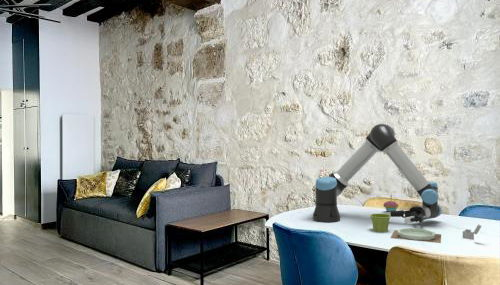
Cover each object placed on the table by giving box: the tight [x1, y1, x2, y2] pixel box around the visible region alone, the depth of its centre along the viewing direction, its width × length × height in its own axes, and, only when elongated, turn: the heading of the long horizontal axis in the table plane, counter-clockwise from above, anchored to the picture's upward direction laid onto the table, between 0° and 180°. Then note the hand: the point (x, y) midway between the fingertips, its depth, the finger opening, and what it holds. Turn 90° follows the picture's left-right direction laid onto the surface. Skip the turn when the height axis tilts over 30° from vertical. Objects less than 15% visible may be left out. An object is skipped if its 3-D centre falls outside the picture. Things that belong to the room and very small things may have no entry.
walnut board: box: [390, 229, 442, 244], centre depth 172 cm, size 20×16×2 cm
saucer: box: [397, 227, 436, 242], centre depth 172 cm, size 15×15×2 cm
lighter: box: [462, 224, 483, 240], centre depth 167 cm, size 7×2×8 cm, turn 50°
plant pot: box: [369, 213, 392, 233], centre depth 184 cm, size 9×9×9 cm
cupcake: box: [383, 194, 399, 212], centre depth 234 cm, size 9×8×12 cm
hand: (393, 218), depth 189 cm, fingers open, 13 cm apart
